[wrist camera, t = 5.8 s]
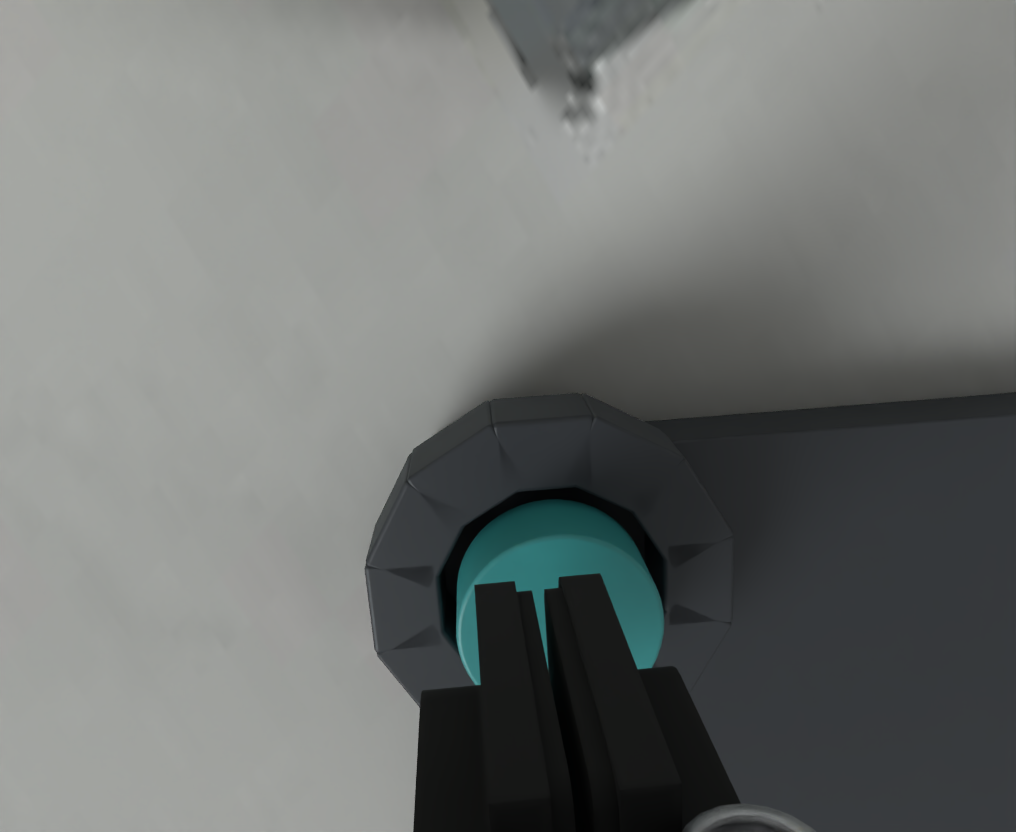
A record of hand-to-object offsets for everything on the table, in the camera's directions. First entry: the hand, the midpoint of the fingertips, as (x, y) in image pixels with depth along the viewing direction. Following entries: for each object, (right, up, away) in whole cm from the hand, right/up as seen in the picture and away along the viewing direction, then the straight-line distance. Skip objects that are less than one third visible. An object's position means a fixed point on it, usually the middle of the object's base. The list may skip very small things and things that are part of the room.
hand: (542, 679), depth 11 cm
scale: (+5, -3, +7) cm, 9 cm away
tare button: (0, +1, +3) cm, 3 cm away
